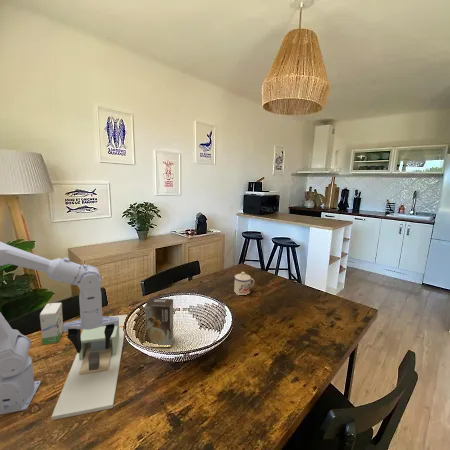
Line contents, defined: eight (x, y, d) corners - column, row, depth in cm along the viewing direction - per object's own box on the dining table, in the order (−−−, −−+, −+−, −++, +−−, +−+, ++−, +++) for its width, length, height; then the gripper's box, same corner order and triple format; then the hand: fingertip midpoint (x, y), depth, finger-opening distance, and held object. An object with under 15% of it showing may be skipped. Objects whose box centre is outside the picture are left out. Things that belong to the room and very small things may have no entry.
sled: (108, 369, 78) (107, 354, 78) (78, 374, 76) (77, 359, 75) (117, 326, 101) (116, 315, 100) (94, 329, 98) (94, 317, 97)
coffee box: (174, 337, 97) (174, 298, 95) (170, 348, 91) (170, 307, 88) (150, 336, 97) (149, 297, 95) (144, 347, 91) (144, 306, 88)
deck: (112, 407, 67) (112, 404, 67) (51, 420, 63) (51, 416, 63) (127, 316, 110) (127, 314, 110) (91, 320, 106) (91, 318, 106)
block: (107, 349, 87) (106, 338, 86) (91, 351, 85) (90, 340, 84) (109, 340, 91) (109, 330, 91) (94, 342, 90) (93, 331, 89)
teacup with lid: (238, 297, 133) (240, 276, 131) (230, 290, 141) (231, 270, 139) (258, 293, 138) (259, 273, 136) (249, 287, 146) (250, 267, 144)
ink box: (58, 342, 92) (55, 312, 90) (41, 345, 90) (39, 314, 88) (64, 329, 100) (62, 301, 98) (49, 331, 98) (46, 303, 96)
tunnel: (116, 357, 85) (115, 336, 84) (79, 363, 82) (77, 341, 81) (119, 339, 95) (118, 320, 93) (86, 343, 92) (85, 324, 90)
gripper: (119, 299, 81) (120, 337, 83) (67, 303, 77) (70, 344, 79) (116, 310, 74) (118, 351, 76) (59, 315, 70) (63, 359, 72)
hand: (93, 349), depth 77 cm, fingers open, 7 cm apart
